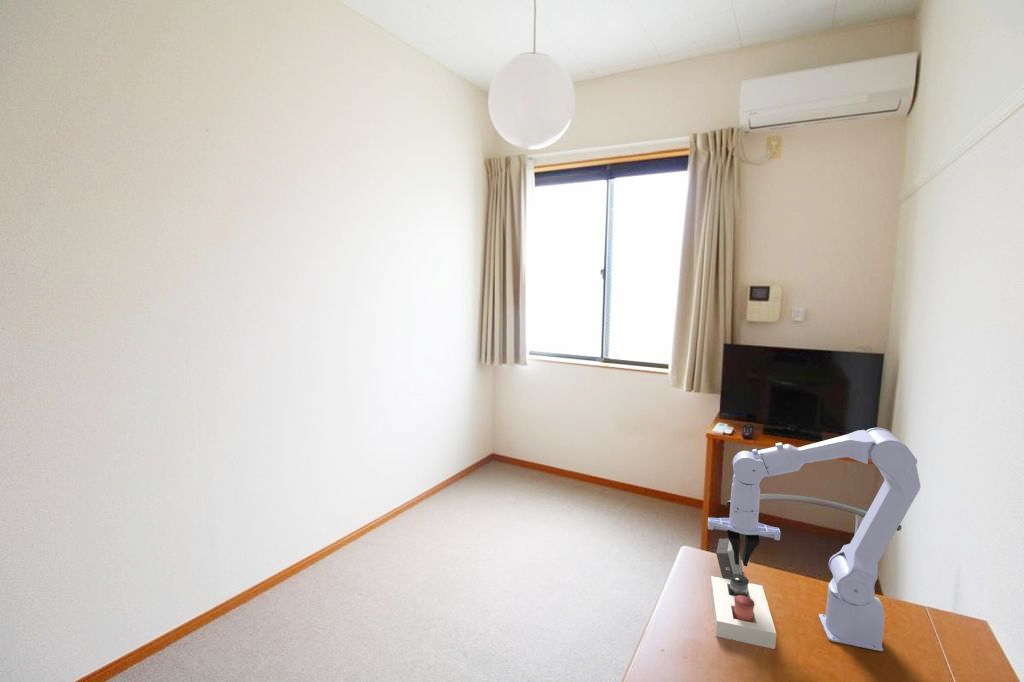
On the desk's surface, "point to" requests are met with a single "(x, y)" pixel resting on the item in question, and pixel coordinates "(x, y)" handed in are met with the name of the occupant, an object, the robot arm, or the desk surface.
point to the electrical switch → (727, 559)
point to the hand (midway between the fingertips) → (740, 562)
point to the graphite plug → (738, 585)
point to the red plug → (743, 608)
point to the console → (739, 630)
